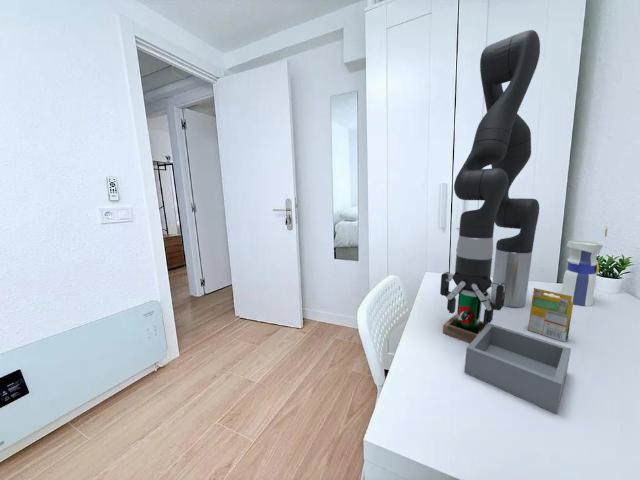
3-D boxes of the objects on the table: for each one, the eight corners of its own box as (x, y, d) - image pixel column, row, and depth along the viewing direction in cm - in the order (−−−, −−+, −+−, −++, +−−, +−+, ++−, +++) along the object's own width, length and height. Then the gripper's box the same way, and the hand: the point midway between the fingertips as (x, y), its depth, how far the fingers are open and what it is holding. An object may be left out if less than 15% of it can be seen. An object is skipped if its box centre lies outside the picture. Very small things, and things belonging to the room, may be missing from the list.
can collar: (455, 322, 73) (456, 313, 73) (491, 333, 67) (492, 324, 67) (442, 333, 68) (443, 324, 67) (479, 347, 61) (480, 337, 61)
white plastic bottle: (589, 298, 87) (602, 223, 82) (598, 308, 80) (613, 226, 75) (556, 294, 91) (567, 222, 87) (561, 303, 84) (574, 225, 79)
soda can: (481, 339, 64) (486, 293, 62) (459, 338, 65) (463, 292, 63) (474, 329, 69) (478, 286, 67) (453, 327, 70) (456, 285, 68)
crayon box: (568, 338, 64) (575, 293, 62) (565, 342, 63) (572, 296, 61) (531, 326, 70) (536, 285, 68) (527, 330, 68) (533, 287, 66)
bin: (486, 344, 62) (488, 323, 61) (566, 373, 52) (570, 348, 51) (464, 372, 53) (466, 347, 52) (556, 414, 43) (561, 384, 42)
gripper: (513, 256, 61) (505, 322, 64) (449, 247, 71) (445, 304, 74) (504, 262, 56) (496, 333, 59) (437, 252, 66) (433, 313, 69)
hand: (468, 317), depth 67 cm, fingers open, 7 cm apart
